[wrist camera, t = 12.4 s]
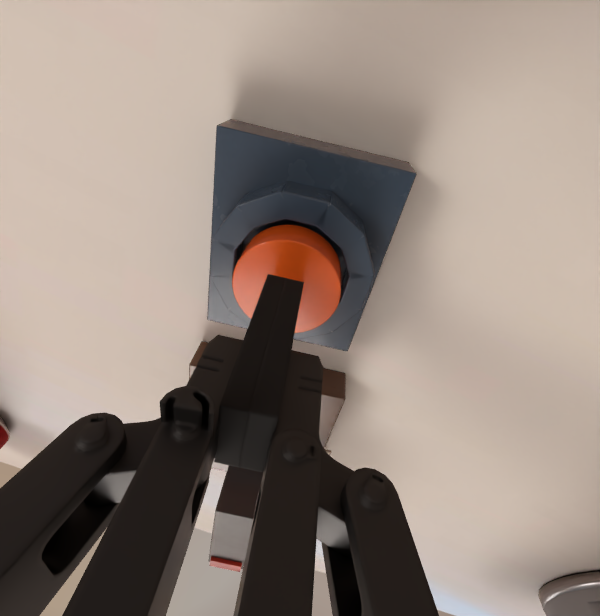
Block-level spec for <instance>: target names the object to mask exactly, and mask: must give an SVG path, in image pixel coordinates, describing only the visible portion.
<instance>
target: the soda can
mask: <svg viewBox="0 0 600 616" xmlns="http://www.w3.org/2000/svg"><path fill="white" fill-rule="evenodd" d="M9 437H10V433H9V431H8V429H7V427H6V424H5V422H4V421H3V420H2V419H1V418H0V449H1V448H2V447H3V445H4V444H5V443H6V442H7V441H8V440H9Z"/></svg>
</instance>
